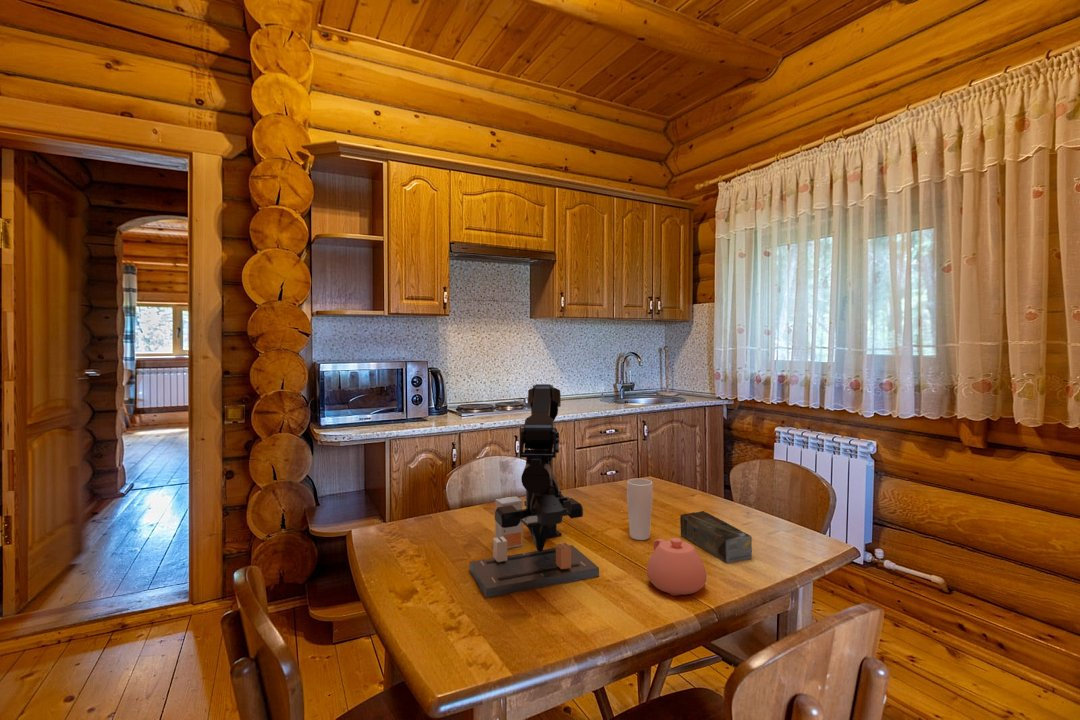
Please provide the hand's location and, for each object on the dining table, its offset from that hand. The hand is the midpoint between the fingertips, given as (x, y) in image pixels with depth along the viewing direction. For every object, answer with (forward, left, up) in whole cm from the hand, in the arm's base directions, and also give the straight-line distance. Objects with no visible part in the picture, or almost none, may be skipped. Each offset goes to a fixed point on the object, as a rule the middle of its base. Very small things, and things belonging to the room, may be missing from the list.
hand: (539, 551), depth 114 cm
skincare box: (-22, 0, -7) cm, 23 cm away
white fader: (-9, -6, -4) cm, 12 cm away
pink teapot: (+12, +26, -7) cm, 30 cm away
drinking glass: (-14, +34, -7) cm, 37 cm away
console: (-4, 0, -7) cm, 8 cm away
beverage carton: (-1, +48, -7) cm, 49 cm away
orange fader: (0, +6, -4) cm, 7 cm away
